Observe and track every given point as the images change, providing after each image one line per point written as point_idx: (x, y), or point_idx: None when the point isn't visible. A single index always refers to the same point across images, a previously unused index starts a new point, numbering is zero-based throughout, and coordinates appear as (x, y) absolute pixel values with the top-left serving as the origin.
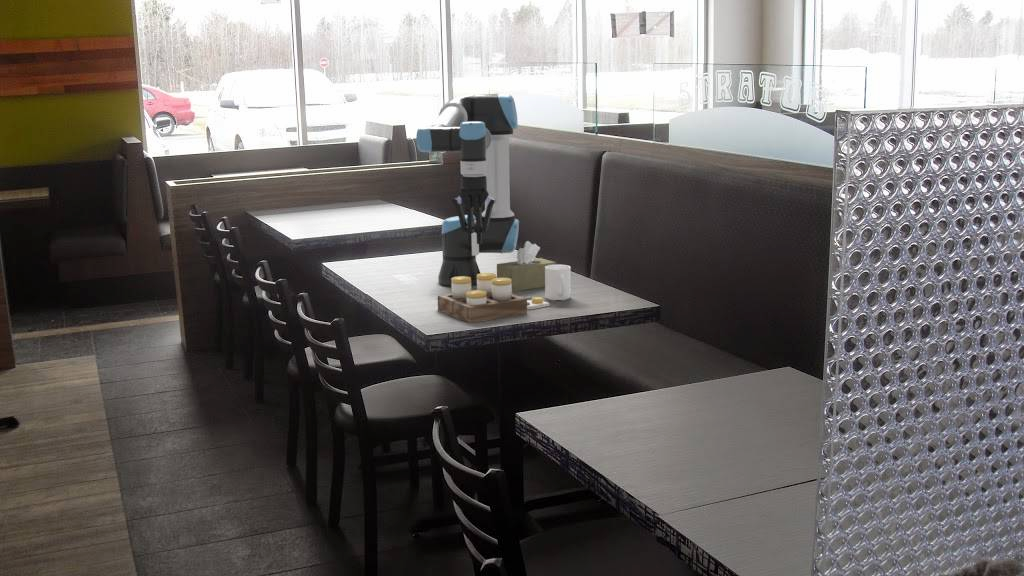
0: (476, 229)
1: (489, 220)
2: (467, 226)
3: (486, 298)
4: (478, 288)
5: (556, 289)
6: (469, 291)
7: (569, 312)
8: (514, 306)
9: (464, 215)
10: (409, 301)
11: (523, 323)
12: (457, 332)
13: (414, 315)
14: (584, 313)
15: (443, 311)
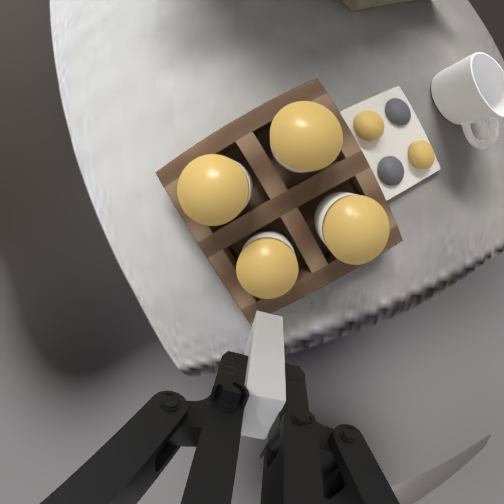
0: (266, 461)
1: (383, 491)
2: (182, 418)
3: (297, 222)
4: (275, 157)
5: (465, 120)
6: (245, 254)
7: (460, 234)
8: None
9: (120, 492)
10: (110, 92)
11: (364, 316)
12: None
13: (126, 222)
14: (477, 246)
15: None
